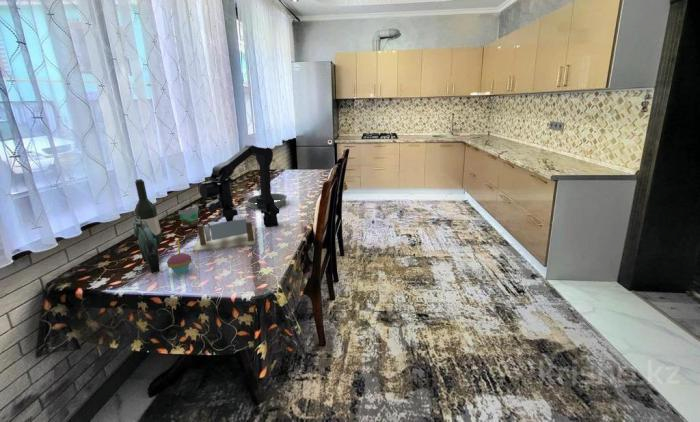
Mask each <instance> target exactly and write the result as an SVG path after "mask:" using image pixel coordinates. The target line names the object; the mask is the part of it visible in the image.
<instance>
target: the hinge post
mask: <svg viewBox="0 0 700 422" xmlns="http://www.w3.org/2000/svg"><path fill="white" fill-rule="evenodd" d="M196 227H197V232H198V238H199V239H200V244H201V245H206V240H205V234H204V232H205V230H204V224H203V223H202V224H201V223H200V224H198V225H197V226H196Z"/></svg>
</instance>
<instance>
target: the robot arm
mask: <svg viewBox="0 0 700 422" xmlns="http://www.w3.org/2000/svg"><path fill="white" fill-rule="evenodd" d="M251 156H255V159H256V162H257V163H258V167H259V184H260V185H259V186H260V194H259V195H260V197H259V198H257V206H258V209H259V211H260V213H261V214H263V216H262V217H263V219H262V220H263V225H264V227H265V228H268V227H276V226H279V222H278V214H280V207H278V208H277V207H276V206H275V203H274V199H273V197H272V195H271V194H272V193H271V191H272V190H271V189H272V188H271V164H272V162H273V158H274V151H273V149H272V148H270V147H265V146H264V147H263V146H262V147H261V146H260V147H259V146H255V145H253V144H251V145H250V144H246V145H245V146H244V147H243V148H242V149H240V150H239V151H238V152H237V153H235V154H234V155H233V156H232V157H230V158H229V159H228V160H226V161H223V162H220V163H218V164H216V165H214V166H213V167H212V173H211V174H210V176H209V179H208V181H206V182H201V183H200V187H199V195H200V196H201V198H202V199H209V198H212V197H217V199H214V200H212V201H210V202H208V203H206V204H205V206H206V208H207V210H208V211H209V213H213V212H214V211H217V210H219V212H220V214H221V216H222V218H225V222H226V221H231V220H234V218H235V216H238V215H239V213H238V210H237V209H236V208H235V205H234V201H233V197H234V195H233V193H232V187H231V183H234V182H235V180H234V179H233V178H231V176H232V175H233V174H234V172H235V169H236V168H237V167H239V166H240V165H241V164H243V163H244V162H245V161H246V160H247V159H249V157H251Z"/></svg>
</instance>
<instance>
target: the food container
mask: <svg viewBox="0 0 700 422" xmlns="http://www.w3.org/2000/svg"><path fill="white" fill-rule="evenodd" d="M199 210H200V208H199V207H198V205H197V204H194V203H193V204H191V206H189V207H185V208H184V209H183V210H182V209H180V210H178V211H177V212H178V215H179V218H180V221H181V225H182V228H183V229H189V228H190V229H191V228H195V227H197V226H198V225H200V224H199V212H198V211H199Z"/></svg>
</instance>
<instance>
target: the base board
mask: <svg viewBox="0 0 700 422" xmlns="http://www.w3.org/2000/svg"><path fill="white" fill-rule="evenodd" d="M252 229H253V237H254V241H248V236H247V233H246V234H241V235H236V236H231V237H226V238H221V239H216V240H212V236H211V230H210V236H211V241H206V245H201V244H200V239H199V237H198V238H197V240H196V242H195V244H194V246H193V248H192V252H193V253H201V252H206V251H214V250H224V249H231V248H239V247H246V246H255V245H256V235H257V234H256V231H257V230H256V225H252ZM204 234H205V231H204ZM205 240H206V235H205Z"/></svg>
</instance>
